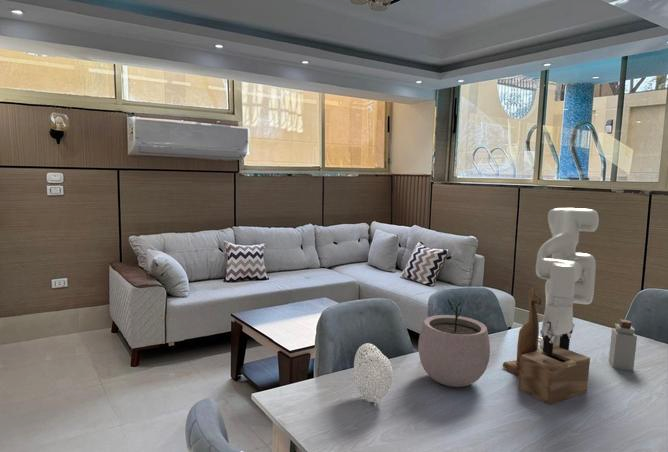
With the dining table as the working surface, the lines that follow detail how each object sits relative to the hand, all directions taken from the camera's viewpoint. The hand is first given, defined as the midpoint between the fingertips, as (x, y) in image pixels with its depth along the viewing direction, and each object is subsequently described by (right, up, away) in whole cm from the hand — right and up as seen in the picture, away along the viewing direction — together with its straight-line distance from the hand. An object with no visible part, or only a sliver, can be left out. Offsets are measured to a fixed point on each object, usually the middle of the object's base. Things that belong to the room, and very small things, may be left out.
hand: (555, 350), depth 151 cm
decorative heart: (-63, -13, -10) cm, 65 cm away
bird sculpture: (-4, -12, +16) cm, 20 cm away
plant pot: (-34, -13, +6) cm, 36 cm away
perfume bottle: (+37, -13, +24) cm, 46 cm away
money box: (0, -14, +2) cm, 14 cm away
